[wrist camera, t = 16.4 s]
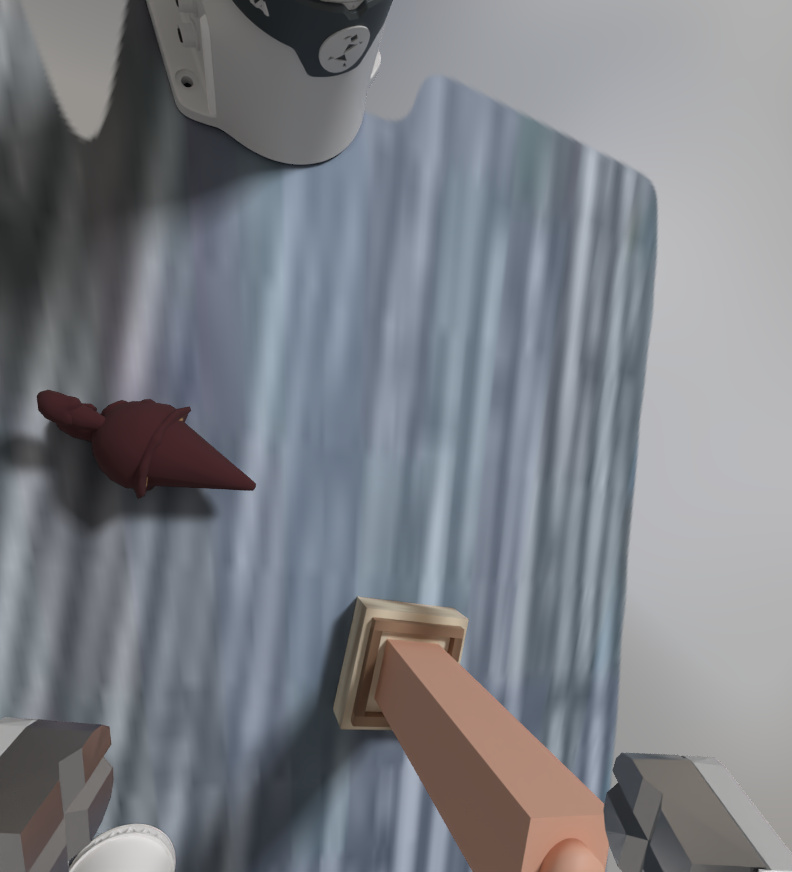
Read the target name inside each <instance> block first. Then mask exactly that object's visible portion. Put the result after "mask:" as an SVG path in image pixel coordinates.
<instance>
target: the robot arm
mask: <svg viewBox="0 0 792 872" xmlns="http://www.w3.org/2000/svg"><path fill="white" fill-rule="evenodd" d="M392 1H393V0H146V3H147V6H148V10H149V13H150V17H151V20H152V24H153V27H154V31H155V34H156V37H157V41H158V44H159V48H160V51H161V55H162V58H163V62H164V65H165V69H166V72H167V75H168V79H169V82H170V86H171V89H172V93H173V96H174V100H175V103H176V105H177V107H178V109H179V110H180V111H181V112H182V113H183V114H184V115H185V116H187V117H189V118H191V119H193V120H196V121H198V122H201V123H204V124H207V125H210V126H214V127H217V128H219V129H221V130H223V131H224V132H226V133H228V134H229V135H230V136H232V137H233V138H234V139H236V140H237V141H238V142H240V143H241V144H242V145H244V146H245V147H247V148H249V149H250V150H252V151H254V152H256V153H258V154H260V155H262V156H264V157H266V158H269V159H272V160H275V161H278V162H283V163H288V164H298V165H305V164H314V163H319V162H323V161H325V160H328V159H330V158H333V157H334V156H336V155H338V154H339V153H341V152H342V151H343V150H344V149H345V148H347V147H348V146H349V144H350V143H351V142H352V141H353V139H354V138H355V136H356V135H357V133H358V131H359V128H360V126H361V123H362V120H363V115H364V108H365V101H366V95H367V90H368V89H369V87H370V85H371V84H372V83H373V81H374V80H375V78H376V76H377V74H378V70H379V67H380V63H381V56H380V53H379V51H378V48H379V45H380V41H381V37H382V33H383V29H384V25H385V21H386V17H387V14H388V12H389V9H390V6H391V4H392ZM184 83H189V84H191V85H192V87H185V86H184V85H183V84H184ZM110 745H111V737H110V728H109V727H108V726H105V725H99V724H87V723H75V722H63V721H52V720H40V719H38V720H34V719H21V718H8V717H4V718H3V719H1V720H0V872H69V860H70V859H72V858H73V857H74V856H75V855H76V854H78V853H79V852H80V851H81V850H83V849H84V848H85V847H86V846H88V845H89V844H90V843H91V841H92V839H93V837H94V835H95V833H96V832H97V830H98V828H99V826H100V824H101V822H102V820H103V817H104V815H105V812H106V809H107V806H108V804H109V801H110V798H111V793H112V787H113V767H112V766H111V764H110V763H109V762H108V761H107V760H106V759H105V758H104V757H103V756H104V755H105V753H106V752H107V750H108V748H109V747H110ZM613 773H614V775H615V777H616V779H617V781H618V783H617V784H616V785H615V786H614V787H613V788H612V789H610V790H609V791H608V792H607V794H606V799H605V804H604V809H603V811H604V822H605V831H606V835H607V838H608V842H609V846H610V849H611V851H612V853H613V856H614V858H615V861H616V863H617V866H618V867H619V868H620V869H621V870H622V871H623V872H792V853H791V852H790V850H789V849H788V848H787V846H786V845H785V844H784V843H783V841H782V840H781V839H780V837H779V836H778V835H777V833H776V832H775V831H774V830H773V828H772V827H771V826H770V824H769V823H768V822H767V820H766V819H765V818H764V817H763V816H762V814H761V813H760V811H759V810H758V809H757V808H756V806H755V805H754V804H753V802H752V801H751V800H750V798H749V797H748V796H747V795H746V793H745V792H744V791H743V789H742V788H741V787H740V785H739V784H738V783H737V782H736V780H735V779H734V778H733V776H732V775H731V774H730V772H729V771H728V770H727V769H726V767H725V766H724V765H723V764H722V763H721V762H719V761H718V760H716V759H715V758H714V757H700V756H679V755H665V754H663V755H662V754H639V753H621V754H620V755H619V756H618V757H617V758H616V760H615V764H614V767H613Z"/></svg>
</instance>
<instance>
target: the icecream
mask: <svg viewBox="0 0 792 872" xmlns="http://www.w3.org/2000/svg"><path fill="white" fill-rule="evenodd" d="M37 402H38V410H39V411H40V412H41V414H42V415H43V416H44V417H45V418H46V419H48V420H51V421H53V422H55V423H56V424H57V426H58V427H59V429H60V430H62V431H64V432H65V433H67V434H68V435H70V436H72V437H74V438H78V439H82V440H87V441H91V442H92V450H93V455H94V457H95V459H96V461H97V464H98V466H99V468H100V469H101V470H102V471H103V472H104V473H105V474H106V475H107V476H108V478H109V479H110V480H112V481H114V482H116V483H118V484H120V485H122V486H123V487H125V488H134V490H135V492H136V495H137V498H138V499H139V498H141V497H143V496H145V493H146V492H147V491H149V490H151V489H153V488H154V487H155V486H167V487H189V488H210V489H230V490H252V491H253V490H254V489H255V487H256V483H254V482H253V481H252V480H251V479H250V478H249V477H248V476H247V475H245V474H244V473H243V472H242V471H241V470H239V469H238V468H237V467H236V466H235V465H234V464H232V463H231V462H230V461H229V460H228V459H227V458H225V457H224V456H223V455H222V454H221V453H219V452H218V451H217V450H216V449H215V448H214V447H212V446H211V445H210V444H209V443H208V442H207V441H205V440H204V439H203V438H202V437H201V436H200V435H198V434H197V433H196V432H195V431H194V430H193V429H191V428H190V427H189V426H188V425H187V424H186V423H184V422H185V420H186V418H187V416H188V413H189V412H190V411H191V409H190V407H185V408H180V409H175V408H174V407H172V406H171V405H167V404H160V403H156V402H154V401H153V400H151V399H145V400H142V401H132V402H127V401H123V400H121V401H117V402H115V403H113V404H110V405H108V406H107V407H106V408H105V409H104V410H103V411H102V413H101V414H99V413H98V412H96V411H97V408H96V407H94V406H93V405H92V404H83V403H81V402H80V400H79V399H78V398H75V397H71V396H67V395H64V394H61V393H59V392H55V391H51V390H46V391H42V392H40V393H38V395H37Z"/></svg>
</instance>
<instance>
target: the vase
mask: <svg viewBox="0 0 792 872" xmlns="http://www.w3.org/2000/svg"><path fill="white" fill-rule="evenodd" d="M175 864H176V856H175V850H174V847H173V844H172V842H171V841H170V839H169V838H168V836H167V835H166V834H165V833H163V832H162V831H161V830H159V829H157V828H155V827H153V826H150V825H145V824H129V825H123V826H119V827H116V828H113V829H111V830H109V831H107V832H105V833H103V834H101V835H99V836H98V837H96V838H95V839H93V840H92V841H91V843H90V844H89V845H88V846H86V847H85V848H84V849H83V850H81V851H80V852H79V854H78V855H77V856H76V858H75V859H74V861H73V862H72V864H71V865H70V867H69V872H175Z"/></svg>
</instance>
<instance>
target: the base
mask: <svg viewBox="0 0 792 872" xmlns="http://www.w3.org/2000/svg"><path fill="white" fill-rule="evenodd" d="M468 620H469V619H467V618H466V617H465V616H463V615H462V614H461V613H459V612H458V611H457V610H455V609H454V608H448V607H440V606H431V605H423V604H415V603H406V602H398V601H389V600H381V599H373V598H364V597H357V601H356V606H355V611H354V615H353V620H352V624H351V629H350V633H349V638H348V643H347V647H346V652H345V656H344V661H343V665H342V670H341V675H340V679H339V684H338V688H337V693H336V697H335V702H334V707H333V711H334V714H335V716H336V719H337V721H338V724H339V726H340V729H355V730H392V729H391V727H390V725H389V723H388V722H387V720H386V718H385V716H384V715H383V713H382V711H381V709H380V708H379V706H378V704H377V702H376V701H375V699H374V697H375V693H376V688H377V683H378V679H379V674H380V669H381V665H382V660H383V656H384V651H385V646H386V642H387V639H393V640H403V641H414V642H425V643H435V644H439V645H440V646H441V647H442V648H443V649H444V650H445V651H446V652H447V653H448V654H449V655H450V656H452V657H453V658H454V659H455V660H456V661H457V662H458V663H459V664H460V660H461V655H462V650H463V645H464V640H465V635H466V630H467V625H468Z"/></svg>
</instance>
